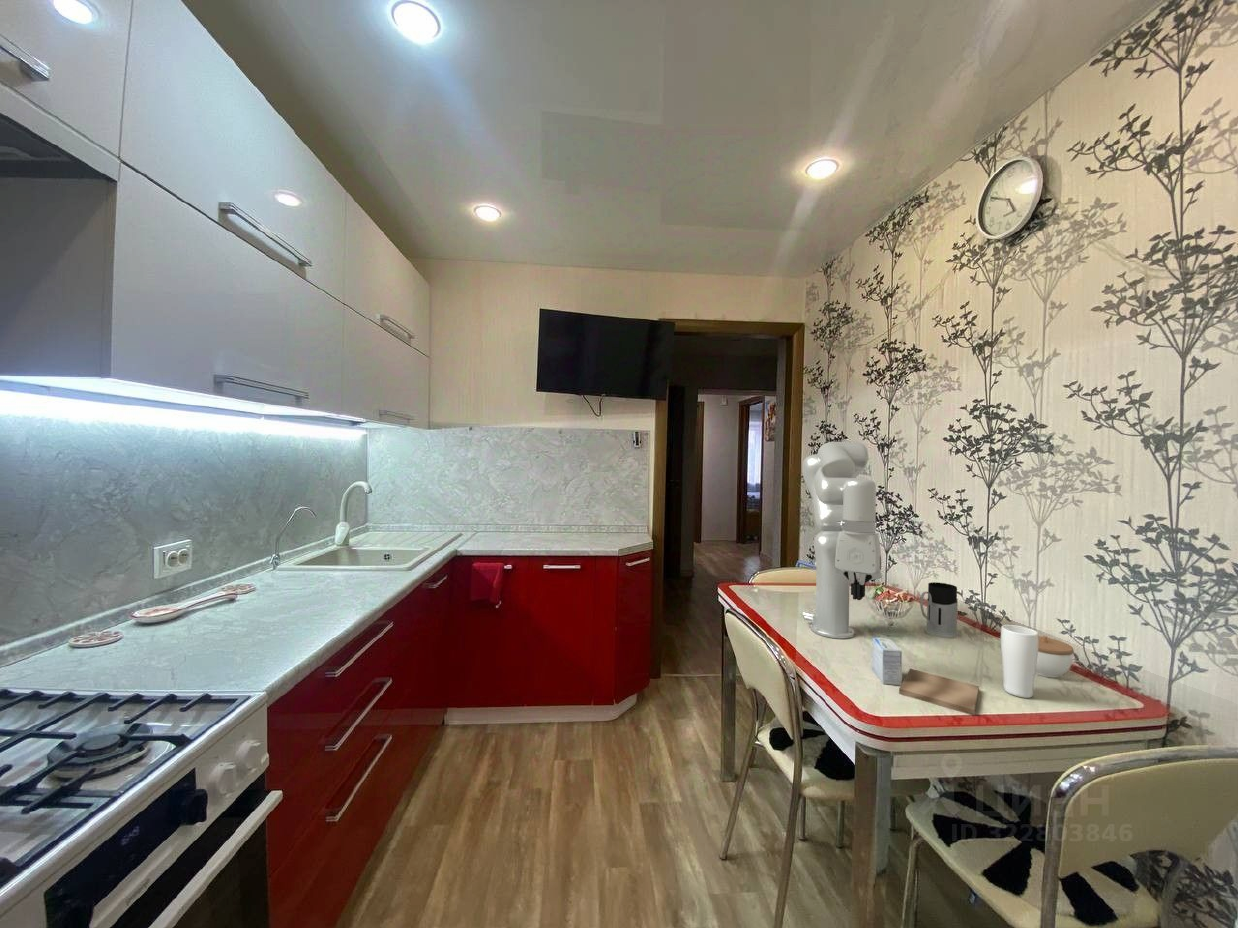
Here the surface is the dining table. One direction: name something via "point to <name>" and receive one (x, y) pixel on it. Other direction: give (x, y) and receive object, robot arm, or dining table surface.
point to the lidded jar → (1053, 657)
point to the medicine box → (887, 661)
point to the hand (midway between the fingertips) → (857, 598)
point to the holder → (941, 610)
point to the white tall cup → (1019, 659)
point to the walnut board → (940, 691)
